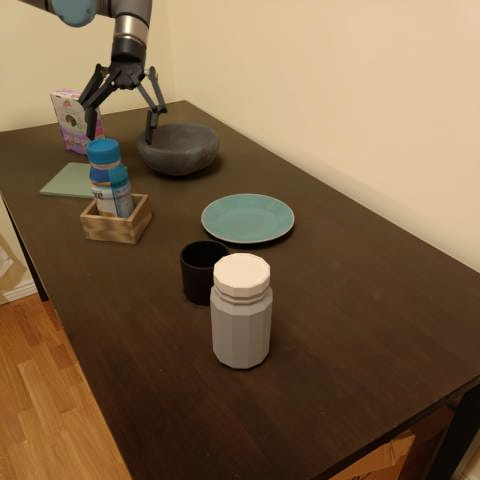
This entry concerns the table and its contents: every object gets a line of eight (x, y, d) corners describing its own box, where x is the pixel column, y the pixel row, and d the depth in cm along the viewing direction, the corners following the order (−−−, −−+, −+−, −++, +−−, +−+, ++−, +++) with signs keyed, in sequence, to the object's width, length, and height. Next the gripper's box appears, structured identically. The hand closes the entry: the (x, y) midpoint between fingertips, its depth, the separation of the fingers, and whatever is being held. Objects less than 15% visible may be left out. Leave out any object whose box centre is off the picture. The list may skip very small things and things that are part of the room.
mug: (218, 264, 92) (216, 228, 86) (237, 299, 84) (237, 262, 78) (175, 274, 90) (170, 237, 84) (191, 310, 82) (187, 273, 76)
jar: (223, 326, 79) (220, 244, 66) (274, 337, 77) (282, 255, 64) (205, 365, 72) (198, 283, 60) (260, 378, 70) (266, 296, 58)
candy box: (110, 152, 133) (98, 95, 121) (96, 159, 129) (82, 101, 118) (79, 143, 138) (64, 87, 127) (64, 149, 135) (48, 92, 123)
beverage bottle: (140, 234, 101) (124, 149, 87) (103, 239, 99) (81, 154, 85) (136, 216, 106) (120, 134, 92) (101, 221, 105) (80, 138, 91)
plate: (186, 241, 99) (185, 230, 97) (222, 196, 114) (221, 186, 112) (278, 261, 93) (279, 250, 91) (303, 212, 108) (304, 201, 106)
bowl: (208, 148, 135) (206, 115, 128) (229, 180, 120) (229, 144, 113) (135, 158, 130) (129, 124, 123) (147, 192, 115) (142, 156, 108)
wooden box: (86, 239, 99) (79, 216, 95) (106, 212, 108) (100, 190, 103) (135, 244, 98) (131, 221, 94) (152, 216, 106) (148, 194, 102)
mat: (40, 194, 114) (39, 191, 114) (70, 164, 127) (69, 162, 126) (104, 199, 112) (103, 197, 112) (128, 169, 125) (127, 166, 124)
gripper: (187, 59, 98) (176, 150, 98) (85, 54, 101) (74, 143, 101) (179, 37, 91) (167, 136, 91) (69, 33, 94) (57, 129, 94)
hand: (118, 140), depth 96 cm, fingers open, 13 cm apart
